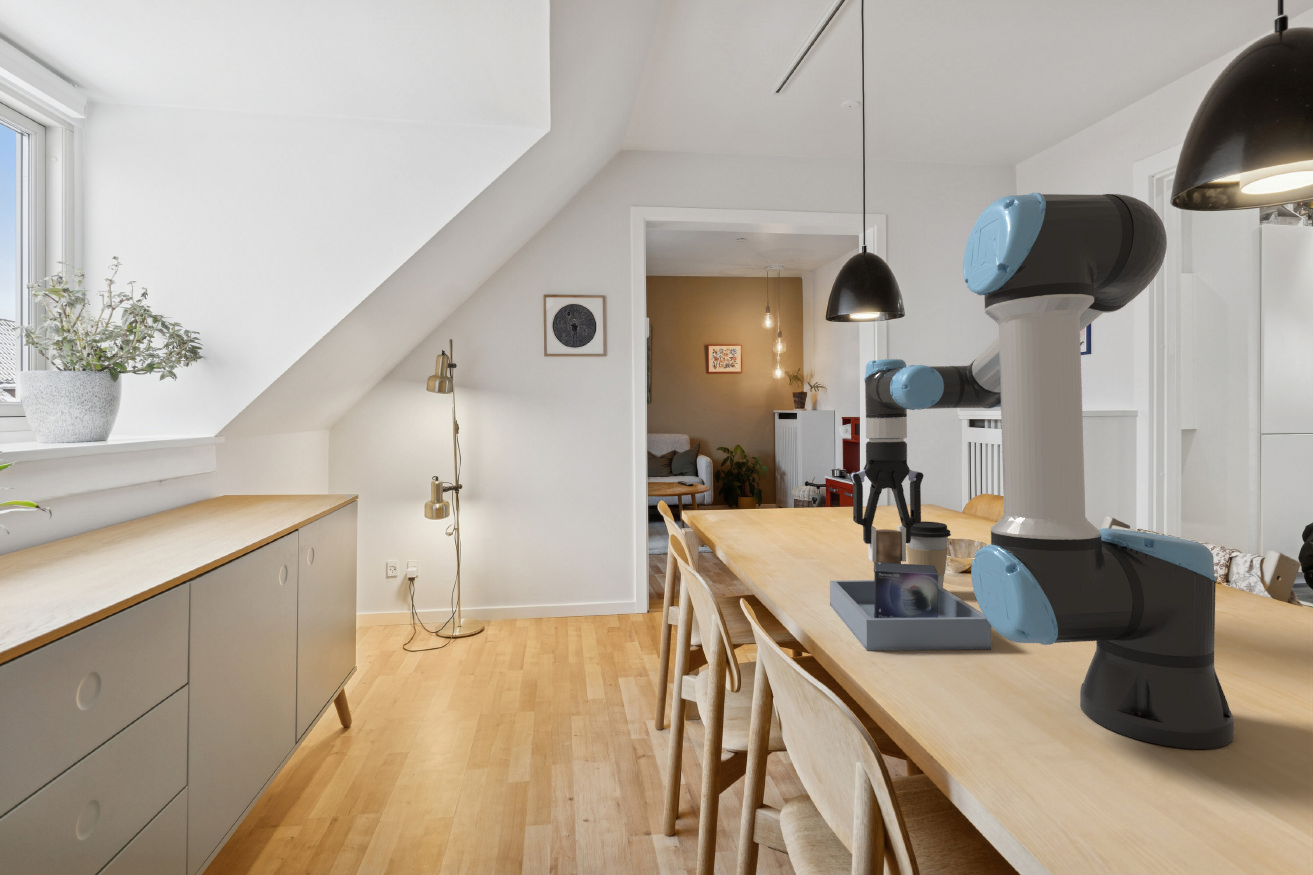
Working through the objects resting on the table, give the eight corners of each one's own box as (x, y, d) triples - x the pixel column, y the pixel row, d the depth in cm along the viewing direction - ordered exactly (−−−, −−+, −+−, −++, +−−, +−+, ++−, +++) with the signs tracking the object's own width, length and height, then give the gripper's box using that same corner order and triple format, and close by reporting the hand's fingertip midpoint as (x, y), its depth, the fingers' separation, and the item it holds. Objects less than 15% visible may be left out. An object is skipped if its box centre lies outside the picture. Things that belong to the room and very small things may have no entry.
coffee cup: (942, 588, 144) (942, 520, 144) (958, 600, 135) (957, 527, 134) (898, 588, 145) (897, 520, 145) (910, 600, 136) (909, 528, 135)
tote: (991, 649, 107) (991, 618, 107) (866, 650, 108) (866, 620, 108) (930, 603, 133) (929, 579, 133) (830, 605, 134) (829, 580, 134)
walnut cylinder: (896, 569, 131) (896, 529, 130) (904, 575, 126) (904, 533, 125) (870, 569, 131) (870, 529, 131) (877, 575, 126) (877, 534, 126)
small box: (874, 628, 117) (873, 569, 116) (873, 617, 123) (873, 561, 123) (939, 633, 114) (938, 572, 113) (935, 621, 120) (934, 564, 120)
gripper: (926, 438, 131) (926, 555, 132) (834, 440, 131) (835, 556, 132) (941, 440, 123) (941, 563, 124) (844, 442, 124) (845, 565, 125)
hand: (887, 559), depth 128 cm, fingers closed on walnut cylinder, 5 cm apart
